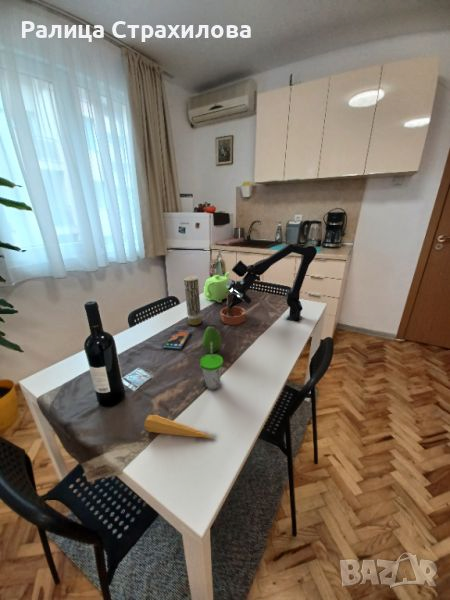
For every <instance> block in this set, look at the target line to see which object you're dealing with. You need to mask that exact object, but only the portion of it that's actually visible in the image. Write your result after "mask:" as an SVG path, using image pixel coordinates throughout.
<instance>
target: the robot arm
mask: <svg viewBox="0 0 450 600" xmlns="http://www.w3.org/2000/svg"><path fill="white" fill-rule="evenodd" d="M293 253H294V254H298V255H300V262H299V263H300V264H299V266H298V269H297V272H296V274H295V278H294V281H293V284H292V286H291V288H290V289H287V291H286V294H285V301H286V305H287V306H288V307H289V312H288V313H289V314H288V315H287V317H286V320H289V321H292V322H297V323H300V321H301V320H302V319H303V315H302V316H301V313H302V311H303V304H302V303H301V301H300V295H301V289H302V287H303V283H304V280H305V279H306V275H307V272H308V269H309V266H310V264H311V263H312V262H313V261H314V259H315V257H316V256H317V253H318V250H317V248H316V247H315V246H314V245H313V244H311V243H305V244H302V243H301V244H300V243H293V242H290V243H287V245H285V246H284V247H282V248H281V249H279V250H277V251H276V252H274V253H273V254H271V255H270V256H268V257H267V258H263V259H261V260H259V261H258V260H257V261H256V262H255V263H253V264H249V265H247V264H245V263H244V262H243V261H242V260H239V261H238V262H236V263H235V264H234V266H233V267H232V269H231V271H232V272H233V273H234V274H235V275H237V276H238V277H239V278H242V279H239V280H234V279H231V278H230V279H229V278H228V280H229V281H228V283H227V286H226V288H227V289H229V290H230V291H229V290H228V291H229V292H232V293H233V301H232V302H231V304H230V305H229V308H232V307H234V306H236V307H237V306H238V305H240V304H242V303H245V302H246V304H248V305H250V304H251V302H252V298H251V297H250V296H249V295H248V294H247V292H248V290H249V291H251V290H252V288H251V287H252V286H253V284H254V283H255V282H256V281H257V282H261V276H262V275H263V274H264V273H266V272H267V271H269V269H270V268H271V267H272V266H273V265H275V264H276V263H278V262H279V261H281V260H283V259H285V258H286V257H287V256H289V255H290V254H293ZM225 305H226V306H227V302H226V303H225Z"/></svg>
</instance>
